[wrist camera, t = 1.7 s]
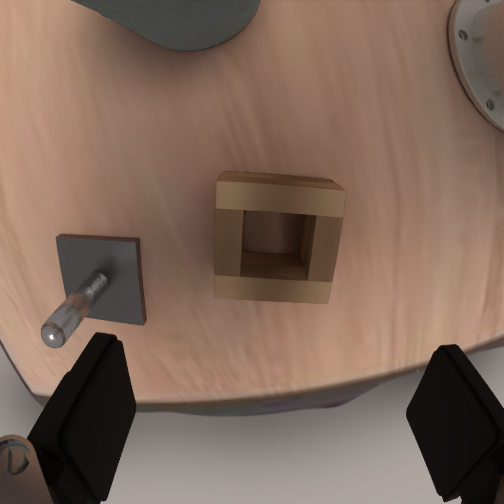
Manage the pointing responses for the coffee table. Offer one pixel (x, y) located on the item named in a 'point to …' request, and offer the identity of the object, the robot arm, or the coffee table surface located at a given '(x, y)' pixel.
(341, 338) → the coffee table surface
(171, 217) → the coffee table surface
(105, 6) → the teal cup
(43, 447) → the robot arm
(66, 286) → the peg stand
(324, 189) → the square wooden ring
